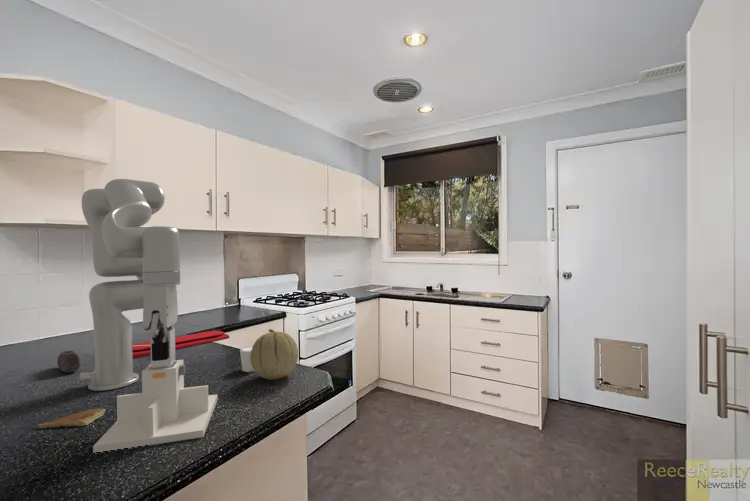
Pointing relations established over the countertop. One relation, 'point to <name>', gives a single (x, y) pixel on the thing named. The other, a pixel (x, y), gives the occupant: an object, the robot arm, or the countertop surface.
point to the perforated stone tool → (68, 361)
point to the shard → (74, 419)
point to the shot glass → (246, 359)
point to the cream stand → (159, 411)
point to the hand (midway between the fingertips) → (163, 356)
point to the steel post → (171, 351)
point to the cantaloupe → (274, 355)
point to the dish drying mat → (181, 342)
